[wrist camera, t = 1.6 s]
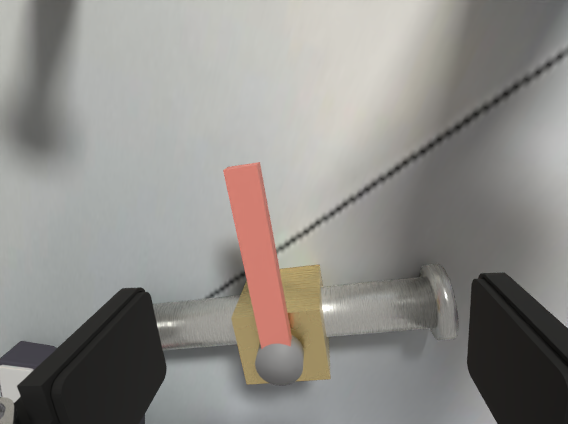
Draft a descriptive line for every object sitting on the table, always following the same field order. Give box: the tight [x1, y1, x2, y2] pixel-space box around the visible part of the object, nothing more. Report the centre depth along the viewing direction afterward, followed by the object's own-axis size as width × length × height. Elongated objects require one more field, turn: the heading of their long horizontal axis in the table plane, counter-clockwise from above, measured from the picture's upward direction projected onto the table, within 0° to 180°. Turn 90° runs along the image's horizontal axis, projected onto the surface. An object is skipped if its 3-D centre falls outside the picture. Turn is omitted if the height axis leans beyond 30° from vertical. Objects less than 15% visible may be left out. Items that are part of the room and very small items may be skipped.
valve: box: [153, 264, 458, 385], centre depth 32 cm, size 30×6×8 cm, turn 99°
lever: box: [223, 162, 304, 386], centre depth 25 cm, size 17×4×2 cm, turn 9°
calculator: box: [0, 341, 145, 424], centre depth 41 cm, size 11×4×15 cm
